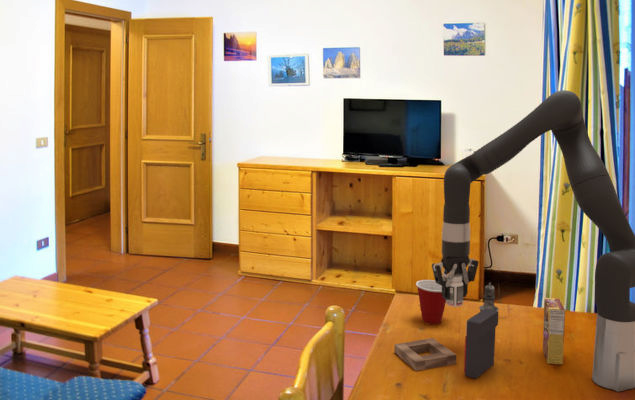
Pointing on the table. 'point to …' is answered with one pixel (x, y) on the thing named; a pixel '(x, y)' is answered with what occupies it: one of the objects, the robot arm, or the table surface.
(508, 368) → the table surface
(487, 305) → the rusty flanged peg
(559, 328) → the candy box
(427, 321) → the plastic cup
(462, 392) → the table surface
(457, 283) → the pill bottle
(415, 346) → the gray square frame
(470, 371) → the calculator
